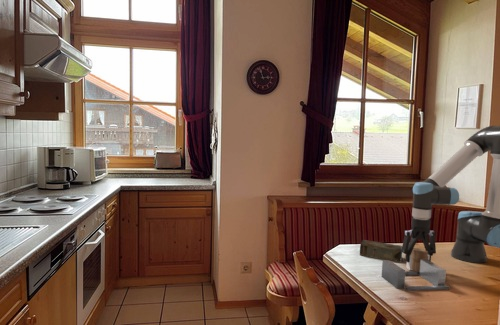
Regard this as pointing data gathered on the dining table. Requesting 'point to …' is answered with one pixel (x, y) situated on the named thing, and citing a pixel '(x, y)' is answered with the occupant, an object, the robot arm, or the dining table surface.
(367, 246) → the beverage carton
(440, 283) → the block
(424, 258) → the block
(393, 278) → the vise body
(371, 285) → the dining table surface
